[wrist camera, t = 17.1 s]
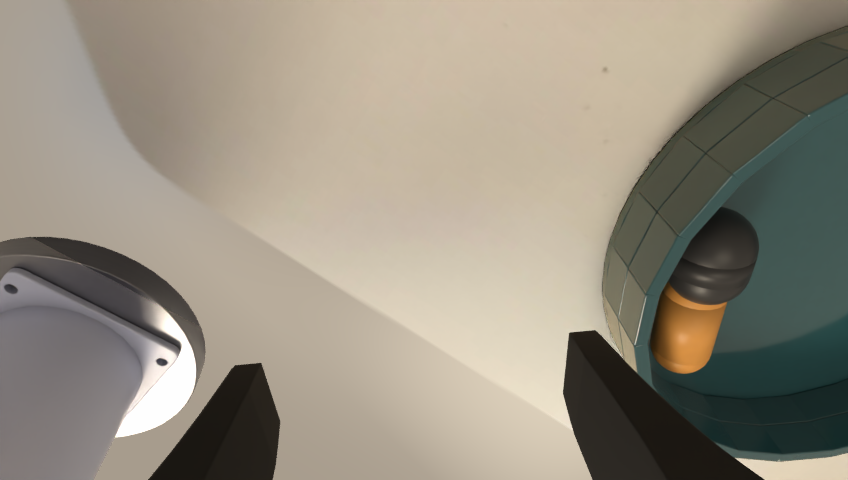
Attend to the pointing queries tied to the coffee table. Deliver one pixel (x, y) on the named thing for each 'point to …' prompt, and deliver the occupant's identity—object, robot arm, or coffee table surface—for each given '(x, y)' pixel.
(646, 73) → the coffee table surface
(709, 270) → the microphone
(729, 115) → the bowl
